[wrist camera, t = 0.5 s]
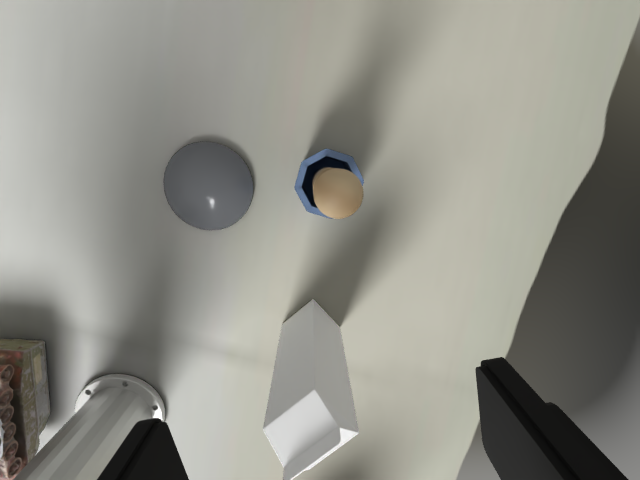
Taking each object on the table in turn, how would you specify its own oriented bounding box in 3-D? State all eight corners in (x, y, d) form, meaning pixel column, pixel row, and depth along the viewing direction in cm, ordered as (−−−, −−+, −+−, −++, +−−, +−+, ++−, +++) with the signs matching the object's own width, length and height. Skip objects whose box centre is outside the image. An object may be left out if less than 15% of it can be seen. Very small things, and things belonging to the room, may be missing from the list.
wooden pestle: (335, 199, 41) (354, 224, 24) (308, 191, 41) (307, 210, 24) (344, 172, 41) (370, 177, 23) (317, 163, 40) (321, 162, 23)
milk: (340, 326, 46) (368, 466, 25) (308, 352, 47) (309, 509, 26) (312, 297, 45) (316, 417, 24) (280, 323, 46) (256, 463, 25)
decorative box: (89, 339, 46) (32, 385, 36) (81, 454, 50) (28, 521, 41) (-9, 322, 45) (-94, 365, 35) (-8, 441, 49) (-84, 507, 40)
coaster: (241, 239, 43) (240, 240, 42) (158, 215, 42) (156, 216, 41) (263, 157, 41) (262, 157, 40) (176, 130, 40) (173, 129, 39)
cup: (344, 215, 43) (350, 225, 36) (291, 200, 42) (287, 206, 35) (361, 162, 41) (371, 161, 34) (307, 145, 41) (306, 140, 34)
